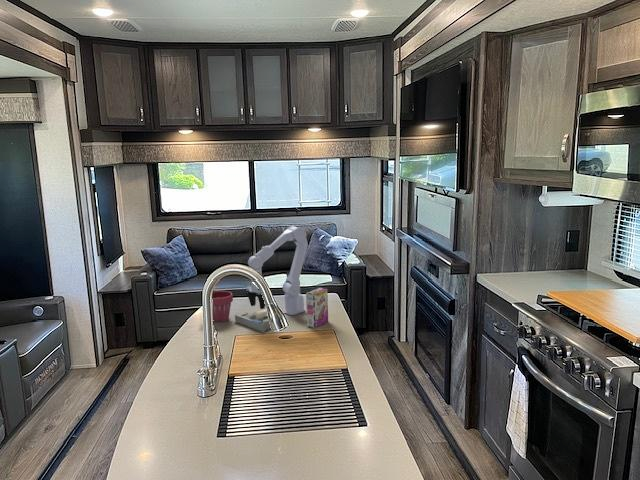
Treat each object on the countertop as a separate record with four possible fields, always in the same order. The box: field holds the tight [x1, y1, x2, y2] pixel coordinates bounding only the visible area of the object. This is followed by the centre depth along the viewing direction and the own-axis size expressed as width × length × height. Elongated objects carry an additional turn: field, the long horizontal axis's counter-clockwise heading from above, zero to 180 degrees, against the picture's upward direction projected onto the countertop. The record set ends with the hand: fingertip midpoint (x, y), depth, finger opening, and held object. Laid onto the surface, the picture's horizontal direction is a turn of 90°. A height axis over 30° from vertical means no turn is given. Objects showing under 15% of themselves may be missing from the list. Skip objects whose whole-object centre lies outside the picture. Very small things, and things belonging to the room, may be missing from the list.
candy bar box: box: [305, 287, 329, 329], centre depth 222 cm, size 11×5×16 cm, turn 144°
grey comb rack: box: [234, 312, 271, 333], centre depth 226 cm, size 6×22×4 cm, turn 44°
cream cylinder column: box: [244, 309, 268, 319], centre depth 234 cm, size 13×4×4 cm, turn 134°
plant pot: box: [212, 290, 234, 323], centre depth 236 cm, size 14×14×13 cm
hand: (257, 307), depth 234 cm, fingers open, 7 cm apart
